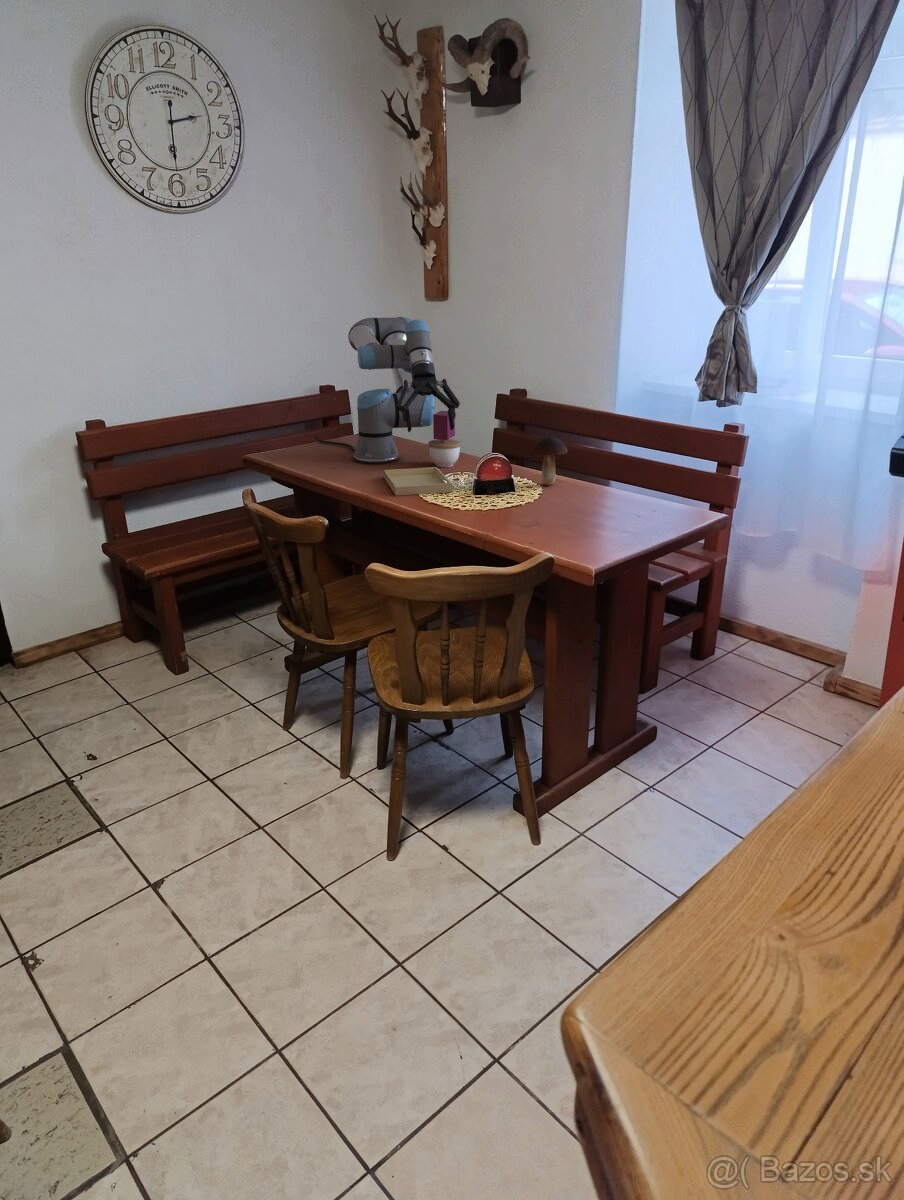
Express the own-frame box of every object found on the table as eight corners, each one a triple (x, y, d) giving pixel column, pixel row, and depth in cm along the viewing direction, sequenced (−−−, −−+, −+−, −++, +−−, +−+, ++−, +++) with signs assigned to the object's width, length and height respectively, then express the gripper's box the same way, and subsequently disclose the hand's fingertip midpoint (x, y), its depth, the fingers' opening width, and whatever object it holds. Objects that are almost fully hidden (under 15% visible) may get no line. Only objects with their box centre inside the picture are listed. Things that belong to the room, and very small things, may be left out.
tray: (384, 478, 258) (383, 470, 257) (436, 474, 262) (436, 467, 261) (395, 495, 239) (395, 487, 238) (452, 492, 243) (452, 483, 242)
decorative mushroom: (570, 488, 246) (573, 439, 240) (536, 490, 244) (538, 441, 238) (558, 479, 256) (561, 432, 250) (525, 481, 254) (527, 433, 248)
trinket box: (437, 470, 268) (437, 442, 264) (423, 463, 276) (422, 436, 273) (465, 466, 272) (466, 438, 268) (451, 460, 281) (451, 433, 277)
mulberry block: (441, 434, 274) (440, 410, 271) (455, 435, 273) (454, 411, 269) (433, 439, 268) (433, 414, 265) (447, 440, 267) (447, 415, 263)
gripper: (384, 362, 251) (393, 425, 247) (462, 360, 257) (472, 421, 252) (382, 374, 259) (390, 436, 254) (458, 372, 264) (467, 432, 260)
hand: (431, 429), depth 253 cm, fingers open, 13 cm apart
